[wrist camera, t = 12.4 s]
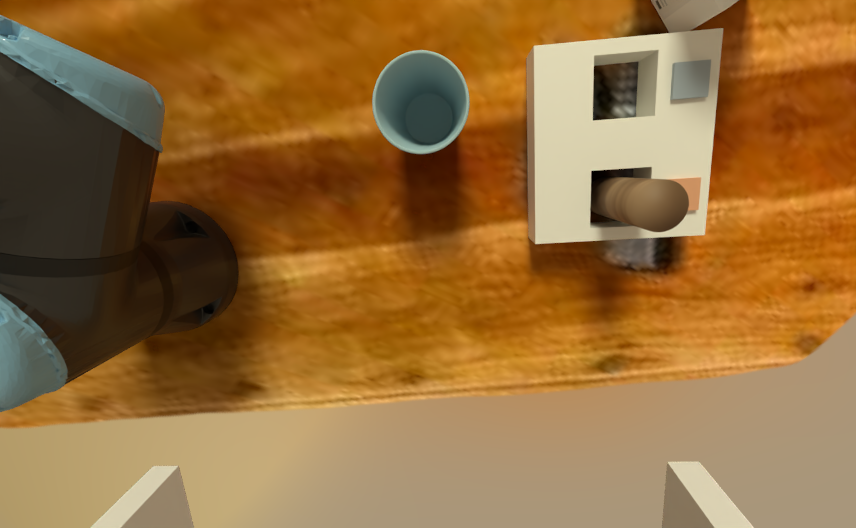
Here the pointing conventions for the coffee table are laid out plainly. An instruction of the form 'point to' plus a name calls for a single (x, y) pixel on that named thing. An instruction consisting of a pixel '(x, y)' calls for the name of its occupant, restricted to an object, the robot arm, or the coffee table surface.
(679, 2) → the container
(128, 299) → the robot arm
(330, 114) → the coffee table surface
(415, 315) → the coffee table surface
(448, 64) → the cup
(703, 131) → the socket board
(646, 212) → the dowel
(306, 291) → the coffee table surface
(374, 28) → the coffee table surface
